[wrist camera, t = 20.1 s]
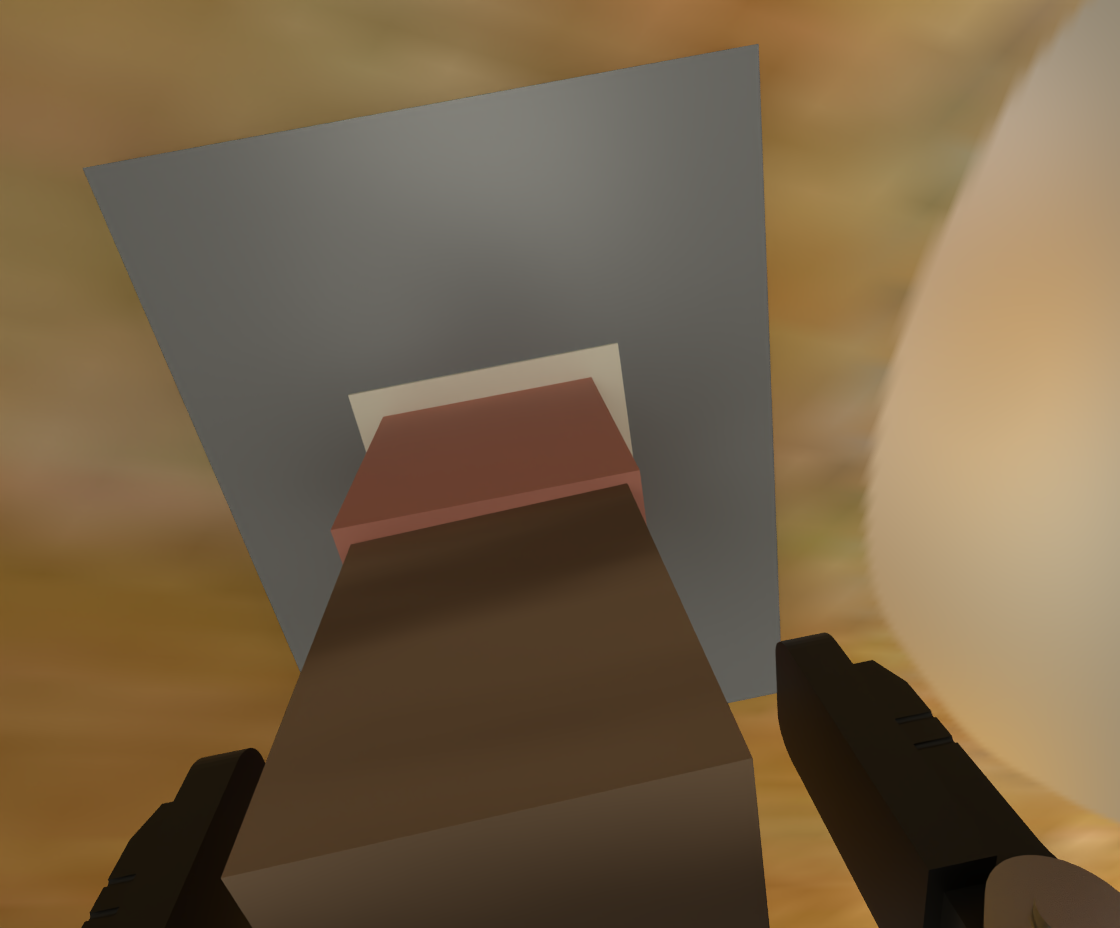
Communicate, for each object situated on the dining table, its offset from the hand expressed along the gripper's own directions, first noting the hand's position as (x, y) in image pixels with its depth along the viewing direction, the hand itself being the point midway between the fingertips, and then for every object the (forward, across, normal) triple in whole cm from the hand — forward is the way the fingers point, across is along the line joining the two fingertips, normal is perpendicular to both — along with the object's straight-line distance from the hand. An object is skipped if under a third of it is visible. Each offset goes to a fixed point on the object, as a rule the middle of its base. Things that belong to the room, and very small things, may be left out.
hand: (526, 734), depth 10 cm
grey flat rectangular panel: (+10, 0, 0) cm, 10 cm away
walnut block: (+3, 0, 0) cm, 3 cm away
